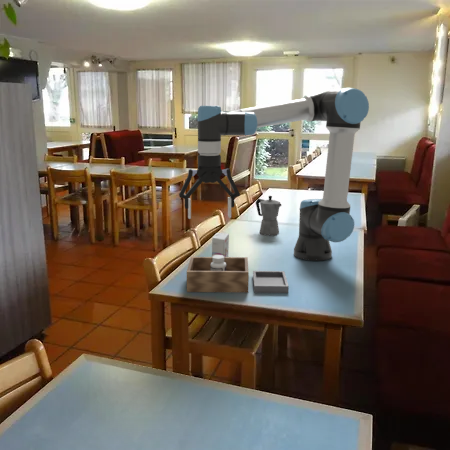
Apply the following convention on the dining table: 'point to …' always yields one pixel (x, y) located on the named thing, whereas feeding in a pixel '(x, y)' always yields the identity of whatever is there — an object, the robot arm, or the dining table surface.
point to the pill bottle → (218, 263)
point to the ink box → (220, 244)
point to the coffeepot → (268, 216)
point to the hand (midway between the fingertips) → (209, 217)
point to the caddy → (218, 275)
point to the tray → (270, 282)
